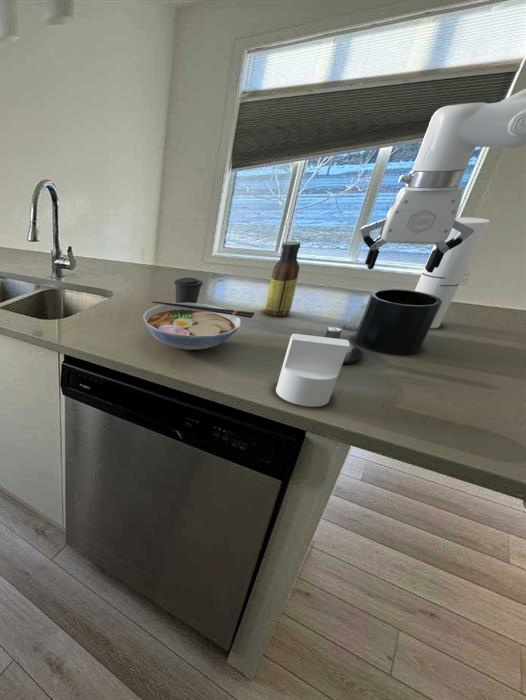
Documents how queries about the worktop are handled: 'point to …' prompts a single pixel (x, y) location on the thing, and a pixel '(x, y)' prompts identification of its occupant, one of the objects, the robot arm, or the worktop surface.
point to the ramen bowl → (192, 324)
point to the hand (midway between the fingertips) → (398, 269)
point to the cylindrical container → (451, 267)
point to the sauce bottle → (283, 281)
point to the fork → (355, 319)
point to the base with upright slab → (311, 369)
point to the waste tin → (397, 321)
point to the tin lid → (352, 352)
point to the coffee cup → (187, 290)
